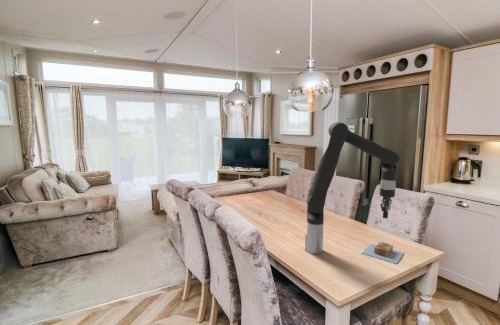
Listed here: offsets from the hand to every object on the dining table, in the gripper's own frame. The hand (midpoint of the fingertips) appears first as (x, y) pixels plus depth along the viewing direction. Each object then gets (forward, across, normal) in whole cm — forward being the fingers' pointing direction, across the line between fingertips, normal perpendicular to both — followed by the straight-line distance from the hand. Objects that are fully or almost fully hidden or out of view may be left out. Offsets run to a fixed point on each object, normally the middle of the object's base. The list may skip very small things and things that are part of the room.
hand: (385, 217), depth 147 cm
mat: (+21, 0, 0) cm, 21 cm away
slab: (+19, +4, 0) cm, 19 cm away
